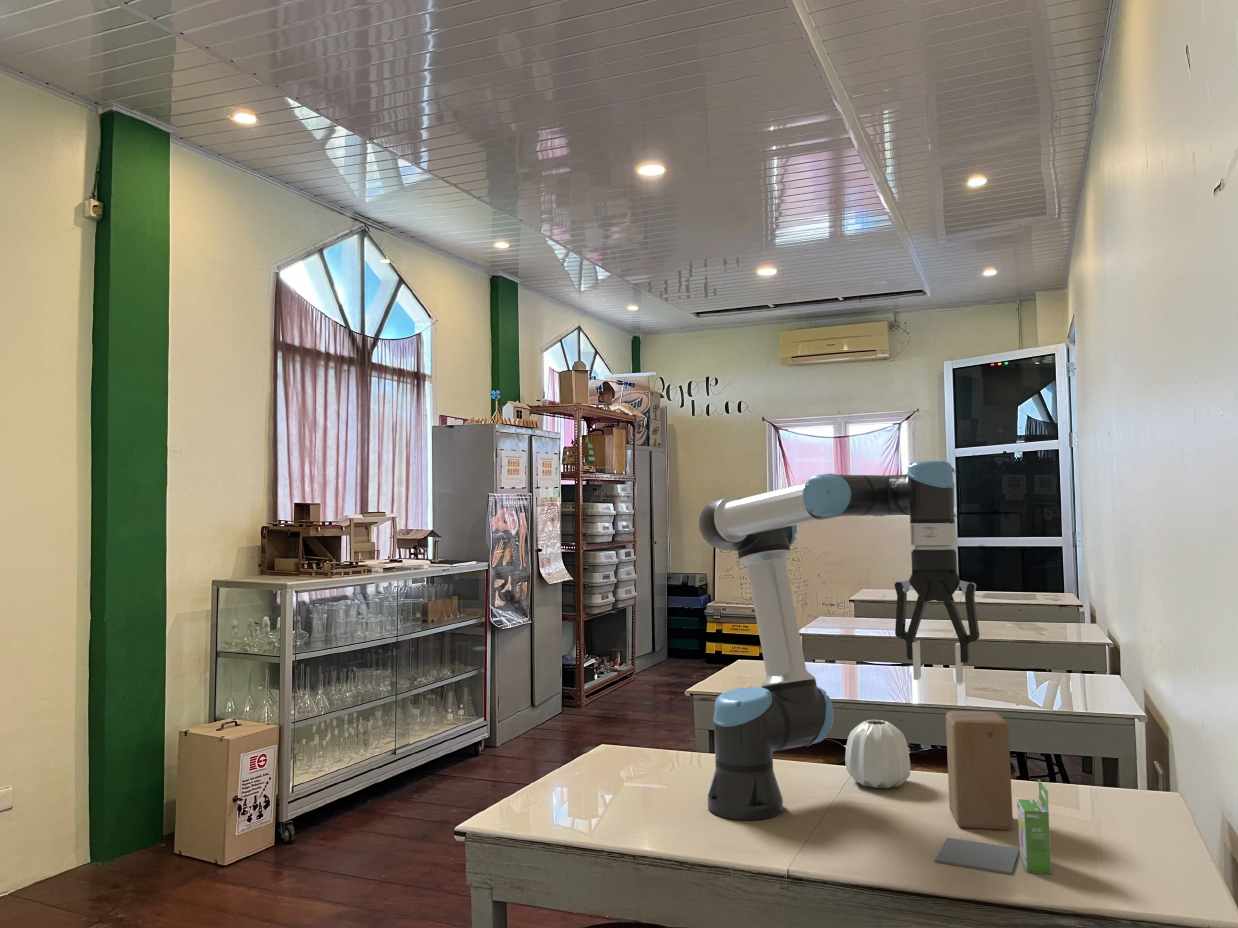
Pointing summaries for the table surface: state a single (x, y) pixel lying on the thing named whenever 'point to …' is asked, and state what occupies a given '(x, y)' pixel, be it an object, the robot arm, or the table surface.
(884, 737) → the vase
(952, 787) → the wooden block
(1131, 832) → the table surface
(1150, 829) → the table surface
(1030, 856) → the ink box
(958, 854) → the mat
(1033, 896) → the table surface
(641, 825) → the table surface
